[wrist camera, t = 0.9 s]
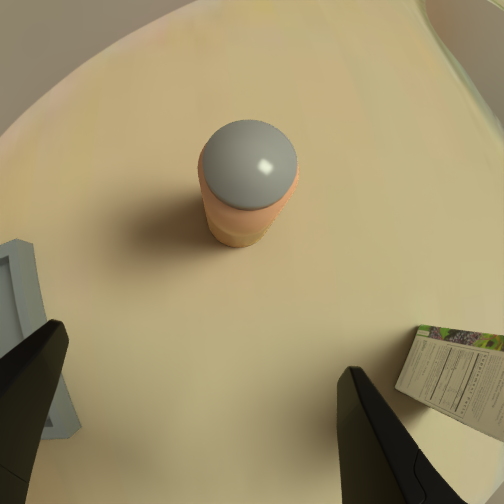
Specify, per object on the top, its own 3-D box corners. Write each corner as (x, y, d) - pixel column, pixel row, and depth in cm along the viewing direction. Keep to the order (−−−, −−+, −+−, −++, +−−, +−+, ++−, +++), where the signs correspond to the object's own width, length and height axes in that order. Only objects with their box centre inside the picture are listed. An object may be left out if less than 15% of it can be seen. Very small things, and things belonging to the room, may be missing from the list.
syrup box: (460, 343, 23) (592, 359, 9) (436, 404, 22) (558, 454, 8) (418, 323, 23) (565, 335, 9) (390, 390, 22) (522, 454, 8)
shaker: (277, 238, 23) (317, 197, 13) (216, 254, 22) (210, 224, 13) (259, 180, 23) (284, 107, 14) (200, 195, 23) (186, 127, 13)
